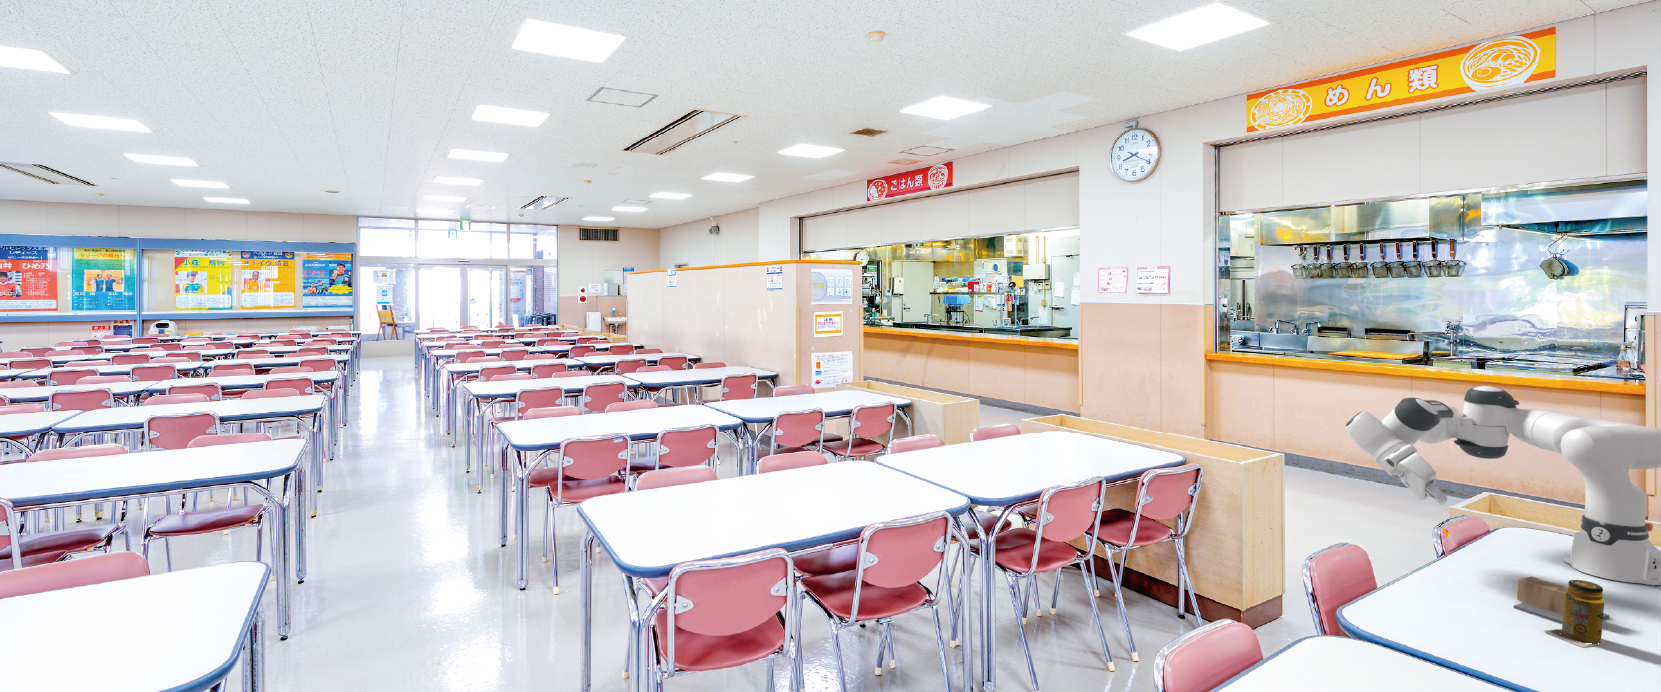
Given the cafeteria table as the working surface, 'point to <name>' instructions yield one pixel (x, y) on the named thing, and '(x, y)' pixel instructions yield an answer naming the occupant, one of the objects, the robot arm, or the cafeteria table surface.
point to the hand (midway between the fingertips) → (1444, 501)
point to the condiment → (1582, 614)
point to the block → (1542, 594)
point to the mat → (1543, 612)
